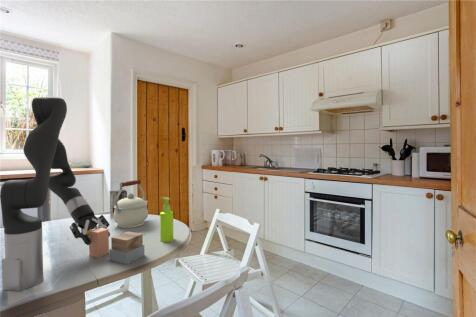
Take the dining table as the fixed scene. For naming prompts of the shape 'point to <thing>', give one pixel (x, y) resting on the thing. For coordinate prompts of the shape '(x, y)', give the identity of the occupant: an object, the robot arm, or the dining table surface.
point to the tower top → (127, 241)
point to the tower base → (126, 255)
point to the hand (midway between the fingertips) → (99, 240)
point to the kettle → (130, 208)
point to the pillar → (99, 242)
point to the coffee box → (113, 197)
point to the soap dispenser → (166, 222)
